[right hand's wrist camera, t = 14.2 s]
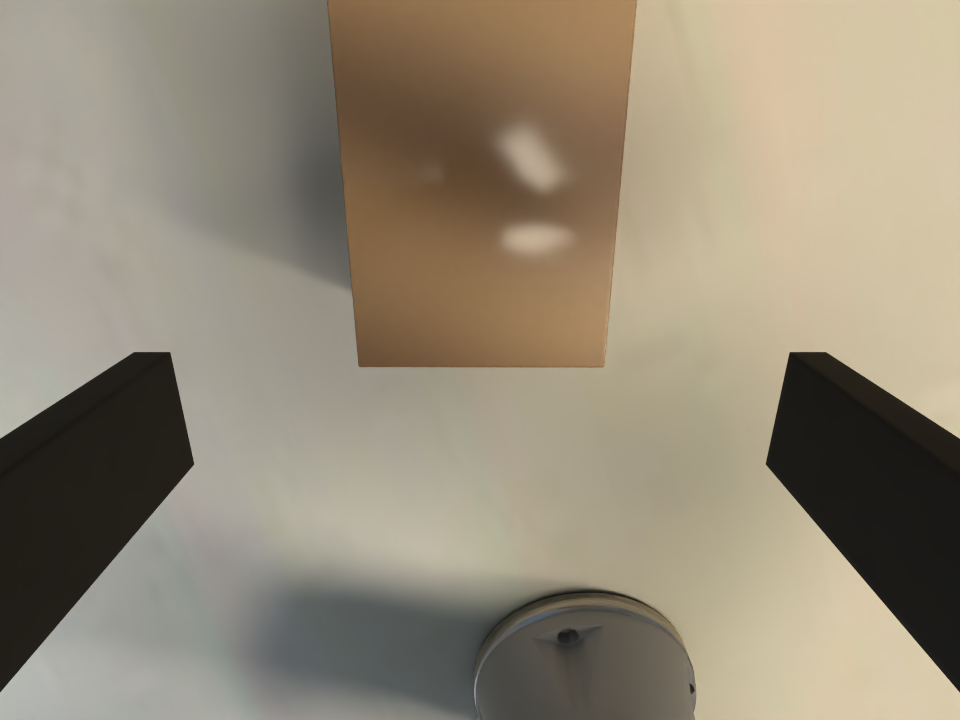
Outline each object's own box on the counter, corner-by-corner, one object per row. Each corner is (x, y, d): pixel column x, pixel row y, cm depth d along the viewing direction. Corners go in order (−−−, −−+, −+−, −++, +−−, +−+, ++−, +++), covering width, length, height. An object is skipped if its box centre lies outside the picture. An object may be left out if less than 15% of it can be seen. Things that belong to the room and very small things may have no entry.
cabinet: (363, -108, 24) (308, -216, 17) (600, -108, 24) (656, -216, 17) (388, 306, 31) (358, 367, 24) (573, 307, 31) (604, 367, 23)
